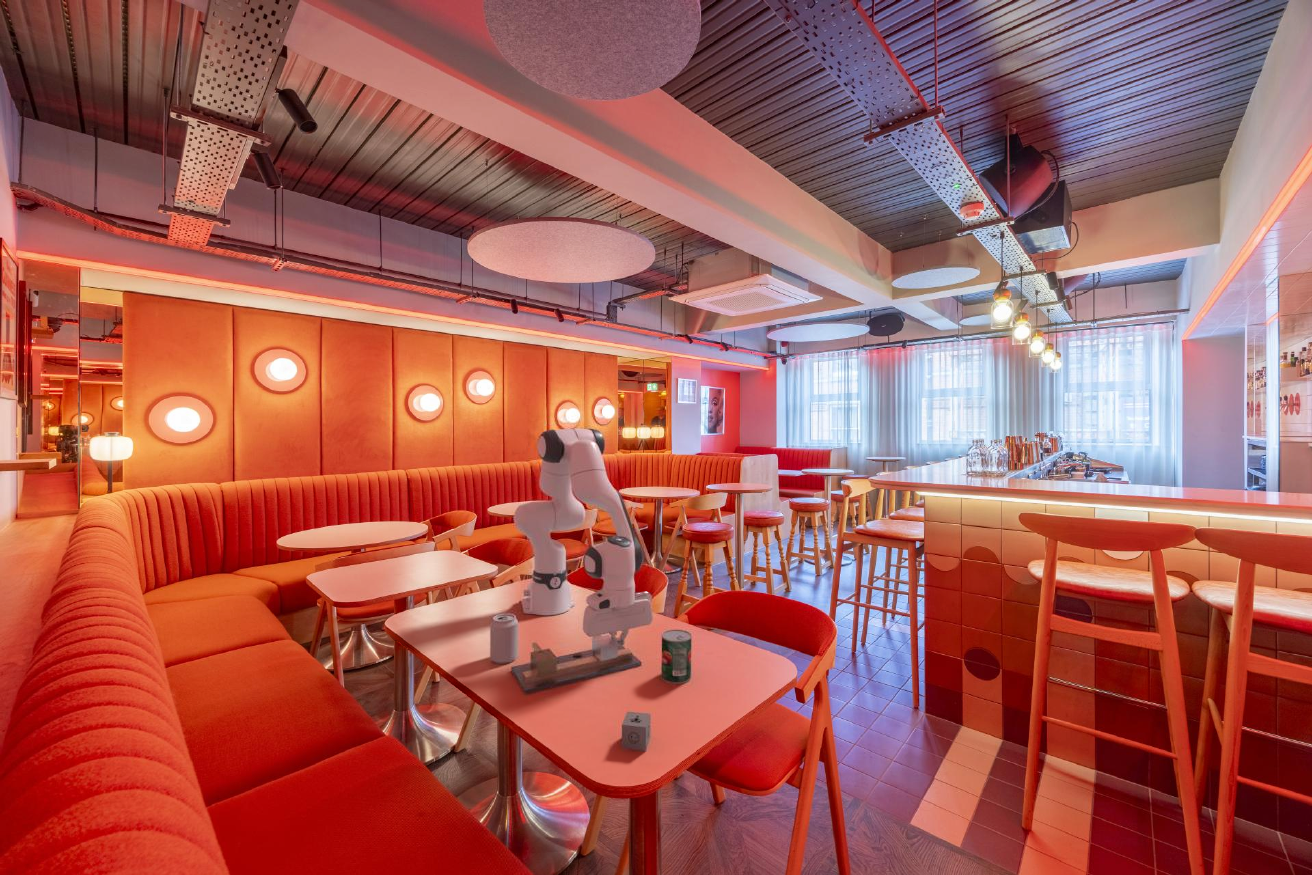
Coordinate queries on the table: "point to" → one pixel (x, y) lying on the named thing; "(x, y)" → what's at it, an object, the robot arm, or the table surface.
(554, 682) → the bolt plate
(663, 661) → the canned tomato
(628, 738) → the dice cube
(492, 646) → the can
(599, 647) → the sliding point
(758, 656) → the table surface
